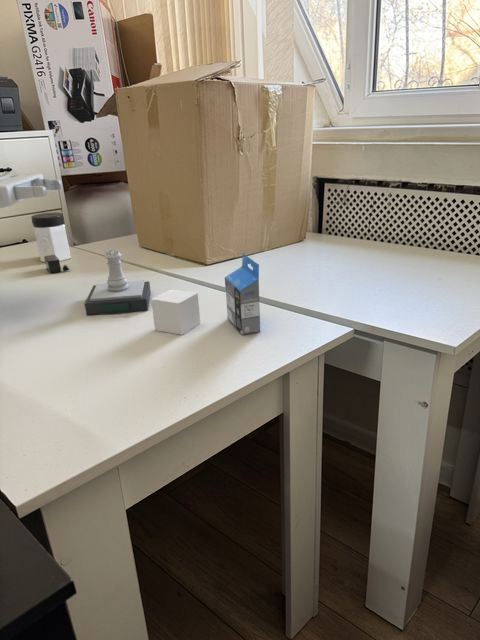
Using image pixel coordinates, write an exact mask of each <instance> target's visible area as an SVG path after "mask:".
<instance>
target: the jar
mask: <svg viewBox="0 0 480 640" xmlns="http://www.w3.org/2000/svg"><path fill="white" fill-rule="evenodd" d="M31 224H32V227H33V232H34V236H35V241H36V245H37V249H38V254H39V259H40V262H41V263H45V259H44V256H49V255H56V257H57V258H58V259H59V262H62V261H65V260H70V259H72V255H71V250H70V246H69V240H68V235H67V229H66V225H65V218H64V214H63V213H62V212H42V213H37V214H34V215H33V214H32V215H31Z"/></svg>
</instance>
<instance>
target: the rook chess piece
mask: <svg viewBox="0 0 480 640" xmlns="http://www.w3.org/2000/svg"><path fill="white" fill-rule="evenodd" d="M121 257H122V253H121V252H120V249H117V248H116V249H115V248H114V249H113V250H112V249H108V250H106V251H105V255H104V258H105V259H106V260H107V262H106V264H107V265H108V277H107V281H106V283H107V285H108V287H107V289H108V290H110V291H113V292H118V291H124V290H126V289H127V288H128V287H129V285H128V284H127V283H128V281H129V280H128V278H126V275H124V272H123V268H122V265H121V264H122V261H121Z"/></svg>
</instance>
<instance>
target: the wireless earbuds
mask: <svg viewBox="0 0 480 640" xmlns="http://www.w3.org/2000/svg"><path fill="white" fill-rule="evenodd" d="M44 259H45V262H44V263H45V267H46V269H47V270H48V271H49V273H51V274H55V273H60V272H61V271H62V270H63V271H64V272H67V271H70V270H71V269H70V267H69V266H68V265H67V264H64V265H63V266H62V267H61V261H59V259H58V258H57V257H56V255H49V256H44Z"/></svg>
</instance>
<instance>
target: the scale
mask: <svg viewBox="0 0 480 640" xmlns="http://www.w3.org/2000/svg"><path fill="white" fill-rule="evenodd" d="M127 284H128V285H129V287H128V288H127V289H126V290H124V291H118V292H113V291H110V290H108V289H107V287H108V285H107V282H101V283H96V284H94V285H93V286H92V287H91V289H90V292H89V293H88V296H87V298H86V300H85V302H84V309H85V314H86V316H96V315H97V316H98V315H108V314H121V313H122V314H123V313H132V312H133V313H134V312H146V311H147V312H148V311H149V305H150V301H151V294H152V293H151V292H152V291H151V283H150V281H149V280H147V281H145V280H128V283H127Z"/></svg>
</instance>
